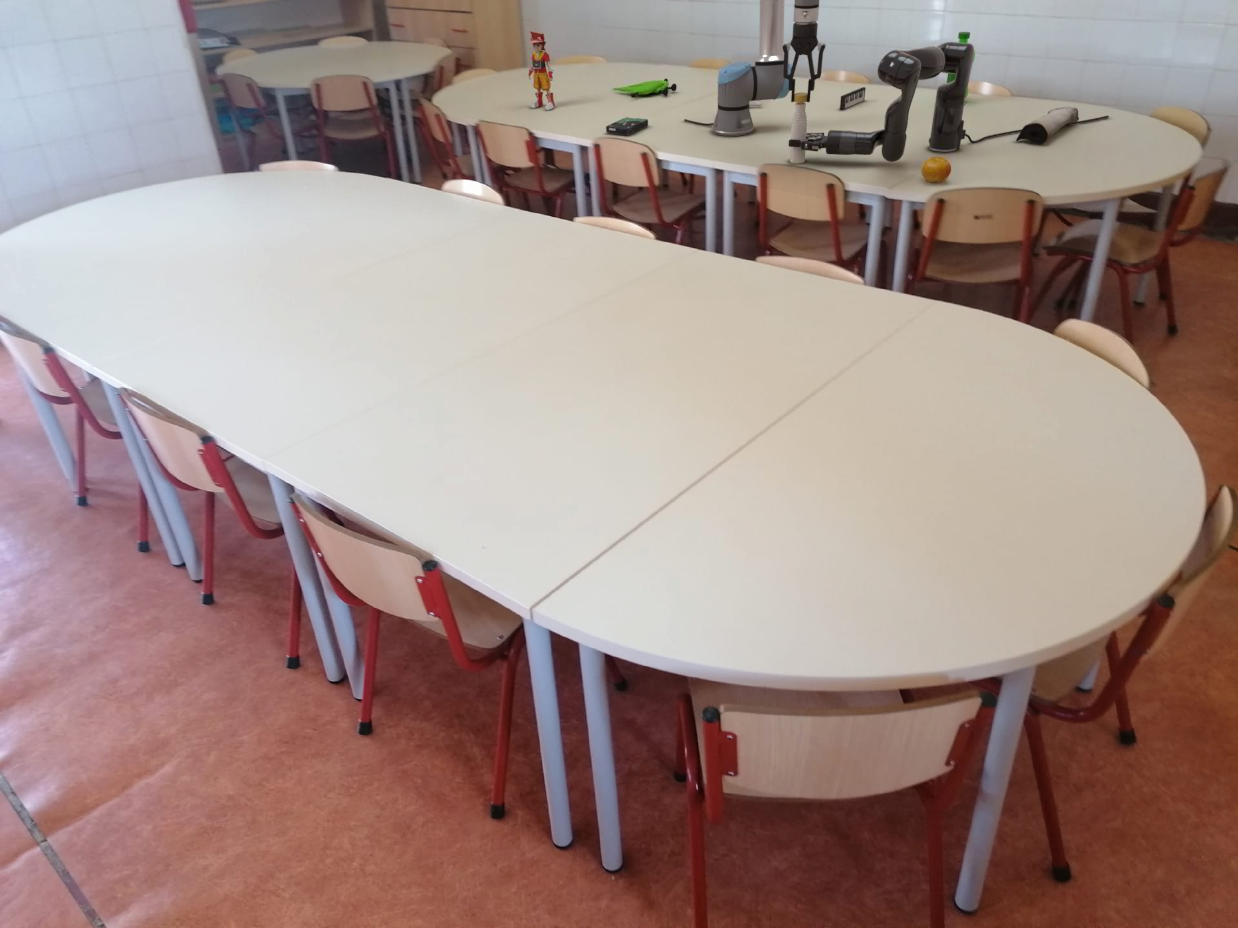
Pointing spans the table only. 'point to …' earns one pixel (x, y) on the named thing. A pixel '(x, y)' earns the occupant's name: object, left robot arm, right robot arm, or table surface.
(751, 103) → the anatomical model
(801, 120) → the bottle
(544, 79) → the toy
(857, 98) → the midi keyboard
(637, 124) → the disk drive
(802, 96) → the cap
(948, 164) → the fruit
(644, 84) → the toy
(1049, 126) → the rolled mat
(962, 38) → the plastic bottle
